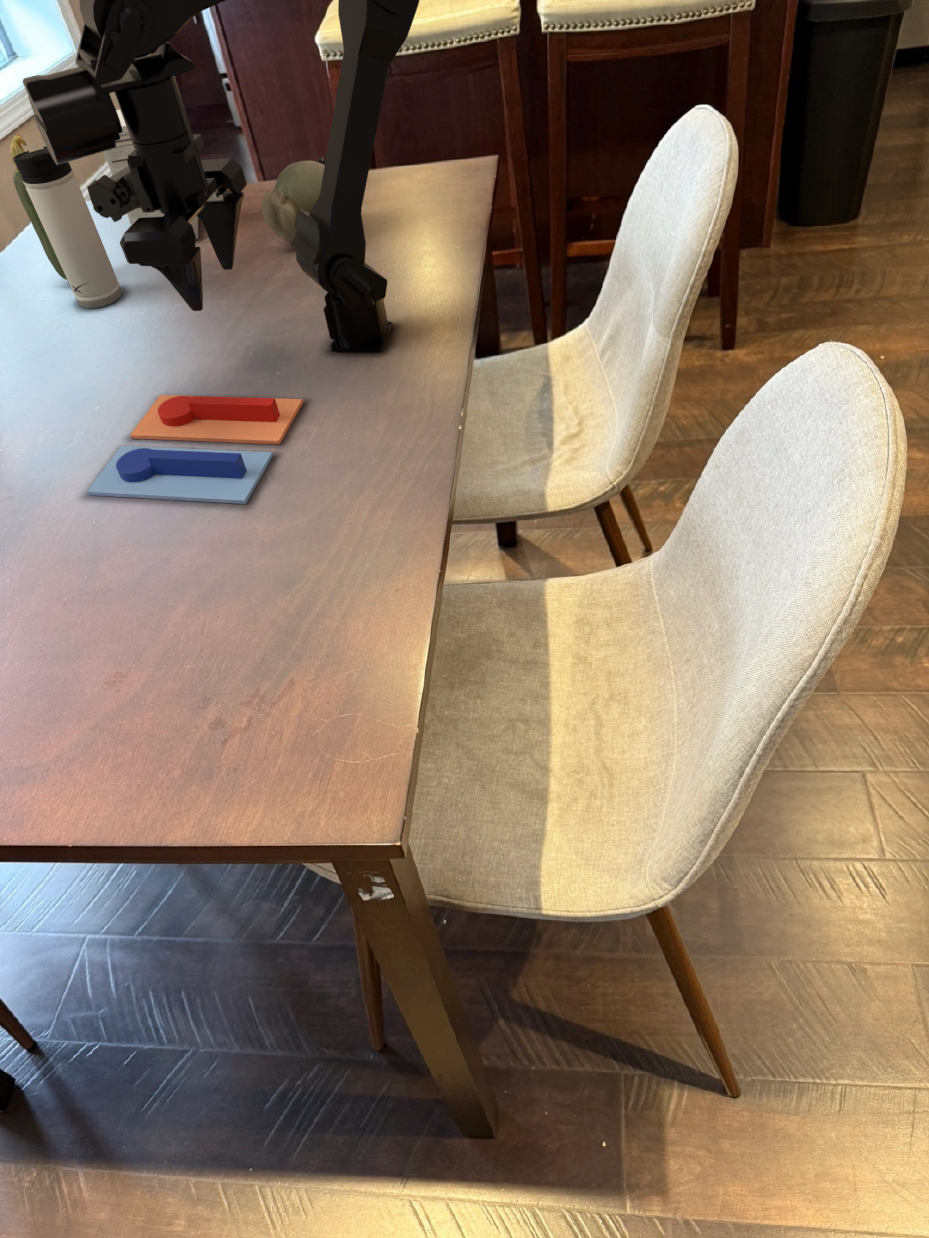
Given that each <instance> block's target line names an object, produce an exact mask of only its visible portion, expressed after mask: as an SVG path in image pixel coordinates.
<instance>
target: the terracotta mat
mask: <svg viewBox="0 0 929 1238" xmlns="http://www.w3.org/2000/svg"><path fill="white" fill-rule="evenodd" d="M177 396H178V395H176V394H175V395H173V394H160V395H159V396H158V397H157V399H156V400H155V401H154V403H153V404H152V405H151V406H150V407H149V409H148V410H147V412H146V413H145V414H144V416H143V417H142V418H141V419H140V421H139V422H138V423H137V425H136V426H135V427H134V429H133V430H132V431H131V432H130V434H129V436H130V438H131V439H137V440H158V441H159V440H162V441H183V442H184V441H185V442H188V441H189V442H209V443H210V442H211V443H234V444H235V443H236V444H258V445H281V443H282V442H283V439H284V438H285V436H286V435H287V432H288V431H289V429H290V428H291V425H292V424H293V422H294V420H295V418H296V417H297V415H298V413H299V412H300V409H301V408H302V406H303V404H304V399H303V398H278V397H277V398H276V397H274V398H275V400H276V403H277V407H278V410H279V413H280V416H279V417H278V419H277V421H276V422H261V421H231V420H201V419H194V420H193V421H191V422H189V423H187V424H184V425H181V426H167V425H165V424H163V423H162V421H161V419H160V417H159V415H158V408H159V406H160V405H161V404H162V403H163V402H165V401H166V400H168V399H171V398H173V397H177ZM189 396H190V397H192V396H193V395H189ZM209 396H210V397H213V396H211V395H209Z"/></svg>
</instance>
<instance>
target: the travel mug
mask: <svg viewBox="0 0 929 1238" xmlns="http://www.w3.org/2000/svg"><path fill="white" fill-rule="evenodd" d="M13 160H14V162H15V164H16V165H15V167H16V166H17V169H18V171H19V173H20V174H21V177H22V180H23V183H24V185H25V186H26V190H27V192H28V194H29V196H30V198H31V201H32V203H33V205H34V207H35V209H36V212H37V214H38V216H39V218H40V220H41V223H42V225H43V227H44V229H45V232H46V234H47V236H48V238H49V240H50V243H51V245H52V247H53V249H54V251H55V254H56V256H57V258H58V260H59V262H60V265H61V267H62V269H63V271H64V273H65V276H66V278H67V280H68V281H67V280H66V281H67V282H68V284H69V287H70V289H71V291H72V293H73V295H74V298H75V300H76V302H77V304H78V306H80V307H81V308H84V309H100V308H103V307H107V306H109V305H111V304H113V303H115V302H116V301H118V300H119V299H120V298H121V297H122V294H123V290H122V286H121V285H120V283H119V281H118V278H117V275H116V273H115V270H114V267H113V265H112V263H111V261H110V258H109V255H108V252H107V250H106V248H105V245H104V244H103V243H104V242H103V241H102V238H101V236H100V234H99V231H98V229H97V226H96V224H95V222H94V218H93V217H92V214H91V212H90V208H89V207H88V204H87V202H86V200H85V199H86V198H85V197H84V194H83V192H82V189H81V187H80V185H79V182H78V179H77V177H76V174H74V170H73V168H72V166H71V164H70V162H66V163H63V164H59V165H57V164H56V163H55V161H54V160H53V158H52V156H51V154H50V152H49V150H48V149H47V146H46V145H45V146H42V148H41V149H40V148H39V149H36V150H33V151H29V150H27V151H25V152H23V153H21V154H18V155H16V156H15V157H14V158H13Z"/></svg>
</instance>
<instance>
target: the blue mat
mask: <svg viewBox="0 0 929 1238" xmlns="http://www.w3.org/2000/svg"><path fill="white" fill-rule="evenodd" d="M140 448H148V449H152V450H172V451H196V452H219V453H241V456H242V458H243V461H244V464H245V467H246V470H247V471H246V473H245V474H244V476H243V478H242V479H239V478H219V477H199V476H179V475H158V474H155V475H154V476H152V477H151V478H149V479H147V480H144V481H140V482H127V481H124V480H123V479H122V478H121V477H120V475H119V473H118V471H117V469H116V463H117V461H118V459H119V458H120V457H121V456H123V455H124V454H126V453H127V452H130V451H132V450H135V449H140ZM273 457H274V454H273V452H272V451H251V450H250V451H249V450H230V449H229V450H227V449H205V448H204V449H203V448H181V447H178V448H177V447H157V446H135V445H133V446H132V445H121V446H120V447H119V448H118V450H117V451H116V452H115V454H114V455H113V456H112V458H111V459H110V460H109V462H108V463H107V464H106V465H105V467H104V468H103V470H102V471H100V473H99V475H98V476H97V477H96V478H95V480H94V481H93V482H92V484H91V485H90V486H89V487H88V489H87V490H86V493H87V495H88V496H96V497H97V496H98V497H113V498H114V497H117V498H133V499H149V500H150V499H151V500H167V501H169V500H170V501H187V502H201V503H203V502H204V503H205V502H206V503H218V504H219V503H221V504H239V505H247V503H248V501H249V500H250V498H251V496H252V494H253V493H254V491H255V489H256V487H257V485H258V484H259V482H260V481H261V478H263V477H262V476H263V475H264V473H265V471H266V469H267V468H268V466H269V464H270V463H271V461H272V459H273Z"/></svg>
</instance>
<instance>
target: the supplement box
mask: <svg viewBox="0 0 929 1238" xmlns="http://www.w3.org/2000/svg"><path fill="white" fill-rule="evenodd" d="M116 111H117V114H118V117H119V120H120V123H121V126H122V133H120V134H119V135H120V140H117V141H115V142H116V148H113V149H110V150H107V151H103V152H102V153H103V155H104V157H105V161H106V163H107V165H108V168H109V170H110V173H111V176H113V175H114V174H116V173H117V172H119V171H121V170H123V169H124V168H126V167H128V163H127V159H128V155H129V154H130V153H132V152H133V151H134V150H135V149H134V146H133V143H132V141H131V138H130V135H129V132H128V130H127V127H126V124H125V121H124V119H123V116H122V113H121V110H120V109H116ZM126 215H127V218H128V220H129V223H130V226H131V225H132V224H133V223H134V222H135V221H136V220H137V219H138V218H143V217H163V216H164V215H165V214H162V213H161V211H160V210H155V211H154V212H147V213H143V211H142V208H141V206H140V207H138V208H136V209H134V210H133V211H131V212H129V213H127V214H126ZM190 224H191V225H192V226H193V229H194V232H195V235H196V240H198V239H199V218H198V217H197V216H196V217H195V218H194V219H193V220H192V221H191V223H190Z"/></svg>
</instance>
